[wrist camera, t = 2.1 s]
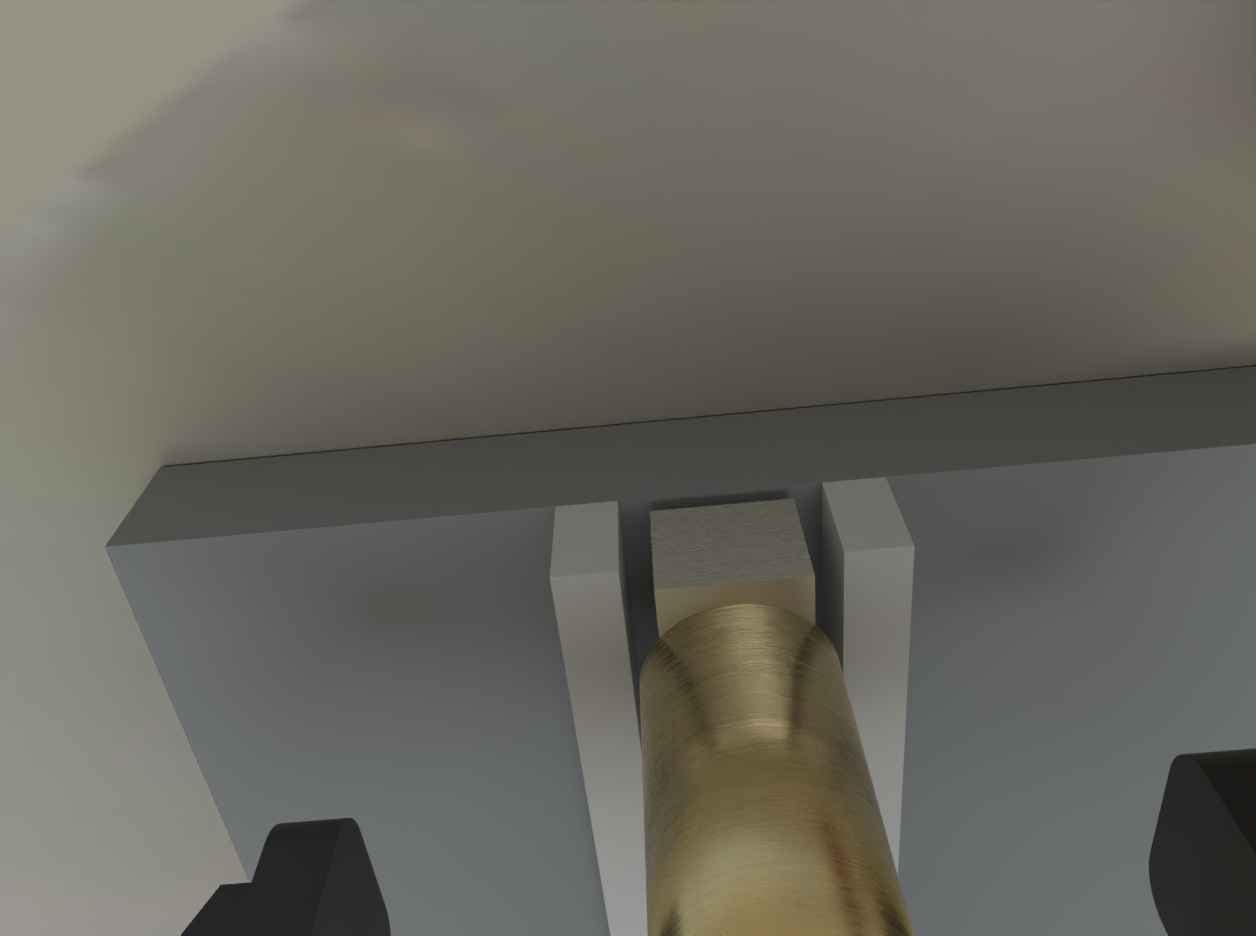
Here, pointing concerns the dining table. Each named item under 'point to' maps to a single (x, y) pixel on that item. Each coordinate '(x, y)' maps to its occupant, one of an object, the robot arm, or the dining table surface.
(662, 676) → the bolt
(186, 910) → the dining table surface
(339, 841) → the robot arm
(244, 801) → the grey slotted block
